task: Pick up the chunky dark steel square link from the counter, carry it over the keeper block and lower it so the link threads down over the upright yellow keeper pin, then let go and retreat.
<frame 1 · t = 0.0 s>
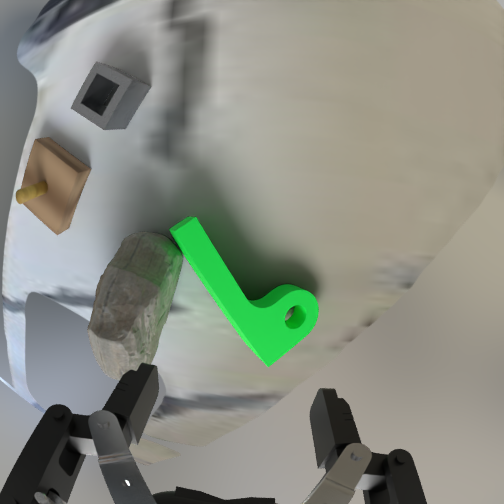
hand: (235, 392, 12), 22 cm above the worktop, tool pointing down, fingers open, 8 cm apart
bracket: (250, 268, 35), on the worktop
keeper: (57, 182, 30), on the worktop
stone: (153, 285, 36), on the worktop
link: (120, 97, 26), on the worktop
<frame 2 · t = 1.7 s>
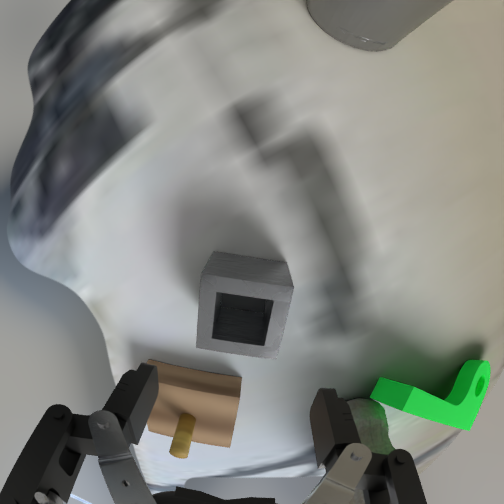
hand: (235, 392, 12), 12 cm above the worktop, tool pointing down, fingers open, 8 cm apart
bracket: (433, 372, 26), on the worktop
keeper: (193, 399, 27), on the worktop
stone: (346, 431, 29), on the worktop
link: (245, 290, 23), on the worktop
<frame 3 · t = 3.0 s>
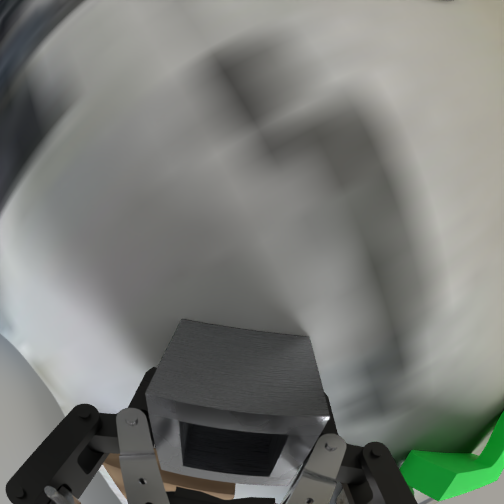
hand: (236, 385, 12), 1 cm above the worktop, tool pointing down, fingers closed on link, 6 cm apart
bracket: (468, 428, 16), on the worktop
keeper: (176, 476, 17), on the worktop
link: (238, 376, 13), on the worktop, touching gripper
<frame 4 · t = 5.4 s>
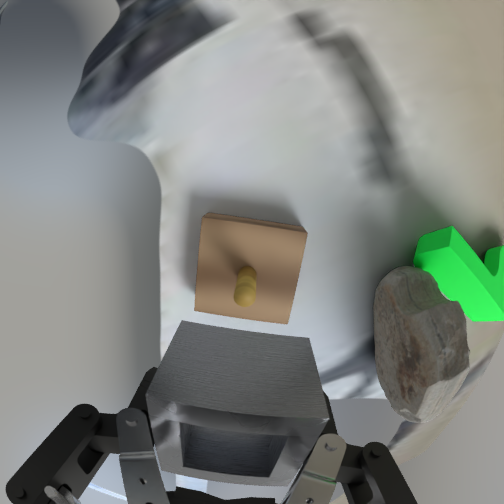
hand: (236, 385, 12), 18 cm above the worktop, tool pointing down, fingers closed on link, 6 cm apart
bracket: (462, 254, 29), on the worktop
keeper: (248, 264, 30), on the worktop
stone: (393, 323, 32), on the worktop
link: (238, 377, 13), point 17 cm above the worktop, touching gripper
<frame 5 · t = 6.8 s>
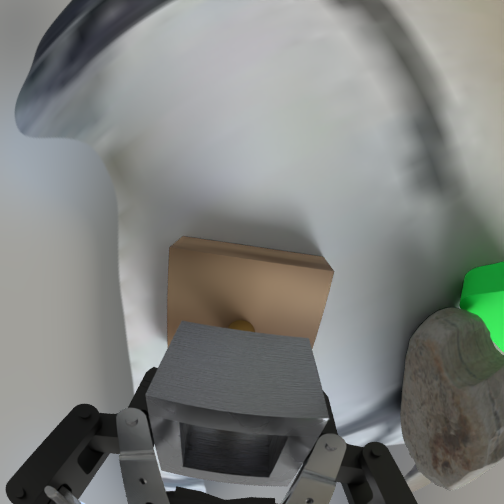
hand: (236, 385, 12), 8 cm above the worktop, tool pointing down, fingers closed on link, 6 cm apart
keeper: (243, 310, 20), on the worktop
stone: (424, 371, 22), on the worktop
link: (238, 377, 13), point 7 cm above the worktop, touching gripper
when the fingers open (6 cm above the worktop, at t = 7.7 s): link drops 2 cm, resting on keeper.
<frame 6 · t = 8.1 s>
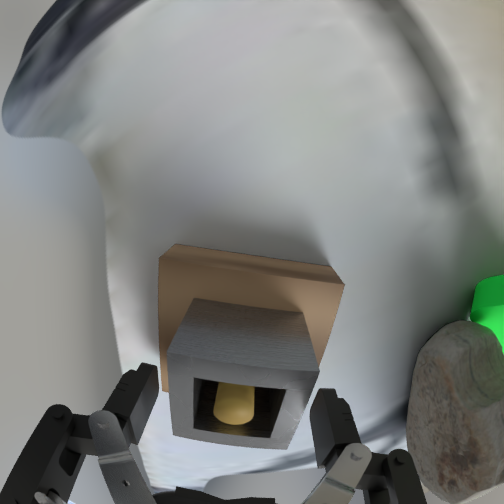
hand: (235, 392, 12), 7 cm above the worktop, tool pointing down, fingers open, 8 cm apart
keeper: (243, 324, 18), on the worktop
stone: (431, 384, 20), on the worktop
link: (241, 349, 15), point 3 cm above the worktop, touching keeper
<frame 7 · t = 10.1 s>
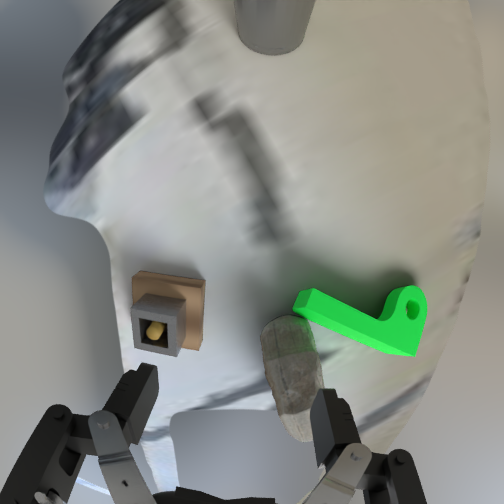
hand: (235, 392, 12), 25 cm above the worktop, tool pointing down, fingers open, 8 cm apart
bracket: (360, 297, 38), on the worktop
keeper: (171, 306, 39), on the worktop
stone: (293, 356, 41), on the worktop
link: (165, 315, 36), point 3 cm above the worktop, touching keeper
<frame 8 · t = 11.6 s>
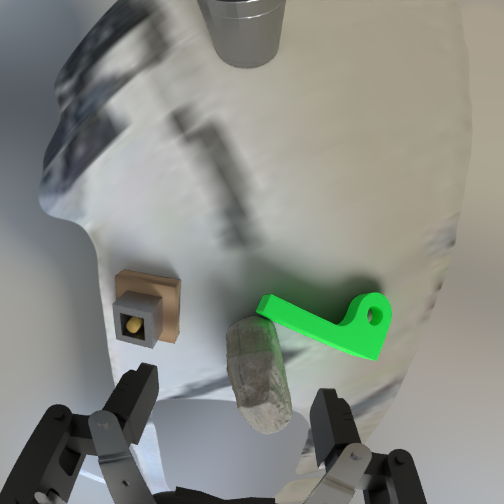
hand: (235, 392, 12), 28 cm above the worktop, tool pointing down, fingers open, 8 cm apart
bracket: (325, 302, 42), on the worktop
keeper: (151, 302, 42), on the worktop
stone: (261, 354, 44), on the worktop
link: (144, 310, 39), point 3 cm above the worktop, touching keeper
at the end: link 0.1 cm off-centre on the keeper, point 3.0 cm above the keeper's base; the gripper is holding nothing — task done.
